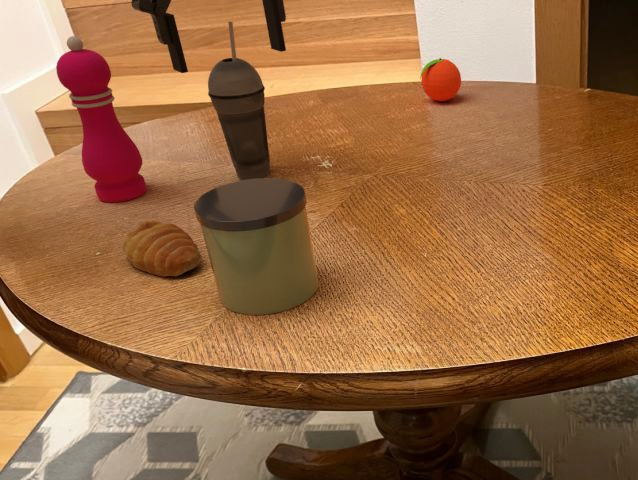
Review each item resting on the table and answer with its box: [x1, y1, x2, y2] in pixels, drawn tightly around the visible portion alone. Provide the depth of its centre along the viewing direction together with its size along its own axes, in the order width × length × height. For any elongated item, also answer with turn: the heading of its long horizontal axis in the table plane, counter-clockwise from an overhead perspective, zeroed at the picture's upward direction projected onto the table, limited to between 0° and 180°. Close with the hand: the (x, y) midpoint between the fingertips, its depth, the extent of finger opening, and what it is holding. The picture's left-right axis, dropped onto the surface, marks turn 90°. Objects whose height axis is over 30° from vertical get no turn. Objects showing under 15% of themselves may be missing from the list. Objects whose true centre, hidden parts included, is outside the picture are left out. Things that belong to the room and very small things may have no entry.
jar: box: [193, 177, 319, 316], centre depth 72 cm, size 10×10×10 cm
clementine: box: [419, 57, 462, 102], centre depth 126 cm, size 8×7×7 cm
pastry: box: [122, 220, 202, 277], centre depth 80 cm, size 9×7×4 cm
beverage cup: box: [207, 21, 271, 181], centre depth 97 cm, size 7×7×20 cm
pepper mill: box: [55, 35, 148, 203], centre depth 93 cm, size 7×7×20 cm
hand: (231, 60), depth 94 cm, fingers open, 13 cm apart
